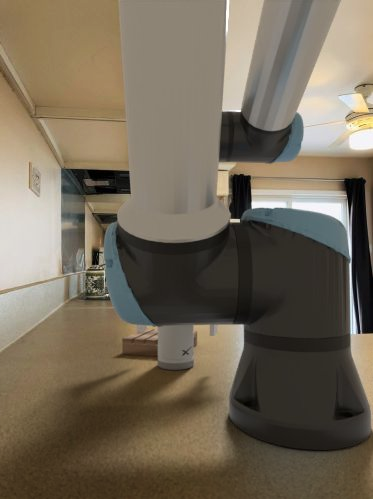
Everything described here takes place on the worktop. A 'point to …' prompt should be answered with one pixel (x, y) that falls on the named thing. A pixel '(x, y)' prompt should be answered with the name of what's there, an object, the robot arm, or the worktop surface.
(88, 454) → the worktop surface
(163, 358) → the travel mug
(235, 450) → the worktop surface
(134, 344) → the pallet dock
